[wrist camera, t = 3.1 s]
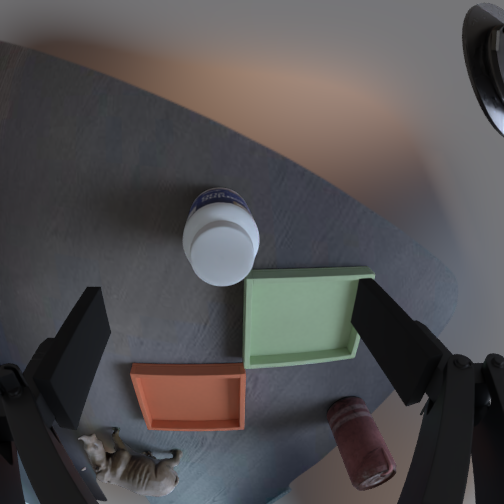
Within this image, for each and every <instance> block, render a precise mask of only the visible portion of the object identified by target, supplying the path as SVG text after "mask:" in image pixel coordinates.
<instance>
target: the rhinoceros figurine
mask: <svg viewBox="0 0 504 504" xmlns="http://www.w3.org/2000/svg"><path fill="white" fill-rule="evenodd" d="M112 430H114V432H113V434H112V439H113V441H114V443H115V445H114V449H115V451H116V452H114V453H108V452H105V450H104V448H103V443H102V442H101V440H99V439H97V438H96V435H95V433H94V434H92V435H88V436H86V435H82V436H81V437H79V438H78V440H79V439H82V440H83V441H84V449H85V450H86V452H87V454H88V457H89V460H90V461H91V465H92V466H93V469H94V470H95V473H96V478H97V479H98V480H99V481H102V482H105V483H107V482H108V483H111V484H116V485H118V486H121V487H123V488H126V489H128V490H130V491H132V492H134V493H136V494H139V495H147V496H155V497H160V496H164V495H167V494H169V493H170V492H171V491H172V490H173V489H174V488H175V487H176V486H177V484H178V482H179V477H178V474H177V473H176V472H175V471H174V470H173V467H174V466H176V465H178V464H179V462H180V458H181V457H182V451H181V450H177V449H174V450H172V452H171V453H172V454H173V458H170V459H167V458H165V459H156V457H154V456H153V455H152V452H150V451H149V452H147V453H145V452H143V454H144V455H143V454H140V453H138V452H135V451H133V450H132V449H131V448H130V447H129V446H128V445H126V444H125V443H124V442H123V441H122V440H121V439H120V437H119V430H120V428H112ZM149 454H150V456H148V455H149ZM85 469H86V467H83V468H82V469H81V470H82V471H84V470H85Z"/></svg>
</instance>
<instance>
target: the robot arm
mask: <svg viewBox="0 0 504 504" xmlns="http://www.w3.org/2000/svg"><path fill="white" fill-rule="evenodd" d="M485 59H486V65H487V69H488V73H489V76H490V80H491V83H492V85H493V88H494V90H495V92H496V94H497V97H498V98H499V100H500V102H501V103H502V105H503V106H504V25H503V24H501V25H496V26H492V27H491V28H490V29H489V30H488V32H487V34H486V38H485ZM351 324H352V325H353V327H354V328H355V330H356V331H357V333H358V334H359V336H360V337H361V339H362V340H363V342H364V343H365V345H366V346H367V347H368V349H369V350H370V352H371V353H372V355H373V356H374V358H375V359H376V361H377V362H378V364H379V366H380V367H381V369H382V370H383V372H384V373H385V375H386V376H387V378H388V379H389V381H390V382H391V384H392V385H393V387H394V388H395V390H396V392H397V393H398V395H399V396H400V398H401V399H402V401H403V402H404V404H405V405H406V406H409V405H412V404H415V403H418V402H420V401H421V399H422V397H423V395H424V393H426V394H427V395H428V397H429V399H428V400H427V402H426V404H425V406H424V408H423V409H422V411H421V413H420V415H422V414H423V412H424V415H423V420H422V425H421V429H420V433H419V437H418V441H417V445H416V448H415V452H414V455H413V459H412V462H411V465H410V468H409V472H408V475H407V478H406V481H405V484H404V487H403V489H402V492H401V495H400V498H399V500H398V503H397V504H462V503H463V499H464V493H465V489H466V483H467V477H468V471H469V464H470V456H472V463H473V473H474V484H475V499H476V504H504V358H503V356H501V355H499V354H494V353H493V354H489V355H487V357H486V359H485V361H484V363H473V362H472V361H471V360H470V359H469V358H468V357H466V356H463V355H460V354H454V355H452V353H451V352H450V351H449V350H448V349H447V348H446V347H445V346H444V345H443V343H442V342H441V341H440V340H439V339H438V338H436V336H435V335H434V334H433V333H432V332H431V331H430V330H429V329H428V328H427V327H426V326H425V325H424V324H422V323H420V322H419V321H417V320H416V321H413V320H412V319H411V318H410V317H409V316H408V314H407V313H406V312H405V311H404V310H403V309H402V308H401V307H400V306H399V305H398V304H397V303H396V302H395V301H394V300H393V299H392V298H391V297H390V296H389V295H388V294H387V293H386V292H385V291H384V290H383V289H382V288H381V287H380V286H379V285H378V284H377V283H376V282H375V281H374V280H373V279H372V278H361V279H359V282H358V288H357V293H356V298H355V303H354V308H353V312H352V317H351ZM110 334H111V330H110V326H109V322H108V318H107V314H106V309H105V305H104V300H103V296H102V291H101V287H87V288H86V289H85V291H84V292H83V294H82V295H81V297H80V298H79V300H78V301H77V303H76V304H75V306H74V308H73V309H72V311H71V312H70V314H69V315H68V317H67V319H66V320H65V322H64V323H63V325H62V327H61V328H60V330H59V332H58V333H57V335H56V336H55V338H47V339H46V340H45V341H44V342H42V343H41V344H40V345H39V347H38V349H37V350H36V353H35V354H34V355H33V357H32V360H30V362H29V364H28V365H27V367H26V369H25V371H24V372H23V374H22V372H21V370H20V368H19V367H18V366H17V365H15V364H10V363H8V364H4V365H2V366H0V504H25V500H24V495H23V490H22V484H21V478H20V472H19V465H18V457H17V451H18V453H19V456H20V459H21V461H22V464H23V466H24V469H25V471H26V473H27V476H28V478H29V480H30V482H31V485H32V487H33V489H34V491H35V493H36V495H37V497H38V499H39V501H40V503H41V504H99V503H98V502H97V501H96V499H95V498H94V496H93V495H92V493H91V492H90V490H89V489H88V487H87V486H86V484H85V483H84V481H83V479H82V478H81V476H80V475H79V473H78V471H77V470H76V468H75V466H74V465H73V463H72V461H71V459H70V458H69V456H68V454H67V452H66V450H65V449H64V447H63V445H62V443H61V441H60V439H59V437H58V435H57V433H56V431H55V429H54V428H53V426H52V424H53V421H54V419H56V421H57V423H58V424H59V426H60V427H62V428H68V429H74V430H77V427H78V424H79V421H80V417H81V414H82V411H83V408H84V405H85V402H86V399H87V396H88V393H89V390H90V387H91V384H92V382H93V379H94V376H95V373H96V370H97V368H98V365H99V362H100V360H101V357H102V354H103V352H104V349H105V347H106V344H107V342H108V339H109V336H110ZM490 399H491V405H490V401H489V400H490Z"/></svg>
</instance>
